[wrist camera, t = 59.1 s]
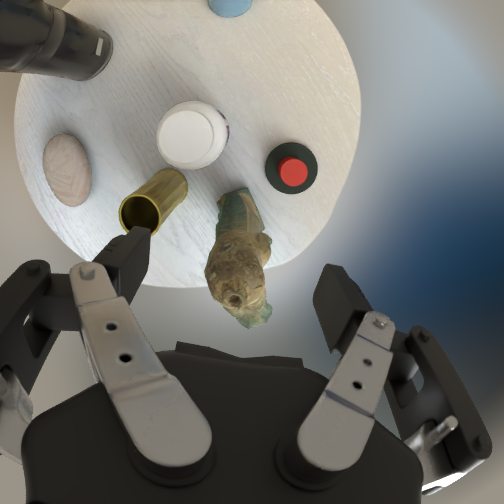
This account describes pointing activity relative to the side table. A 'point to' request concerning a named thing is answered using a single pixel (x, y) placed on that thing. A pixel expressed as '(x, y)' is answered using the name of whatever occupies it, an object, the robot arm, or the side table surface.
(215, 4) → the bottle
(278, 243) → the side table surface
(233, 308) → the statue
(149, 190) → the vase
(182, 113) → the pill bottle
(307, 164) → the coaster
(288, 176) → the cap
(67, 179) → the decorative stone
